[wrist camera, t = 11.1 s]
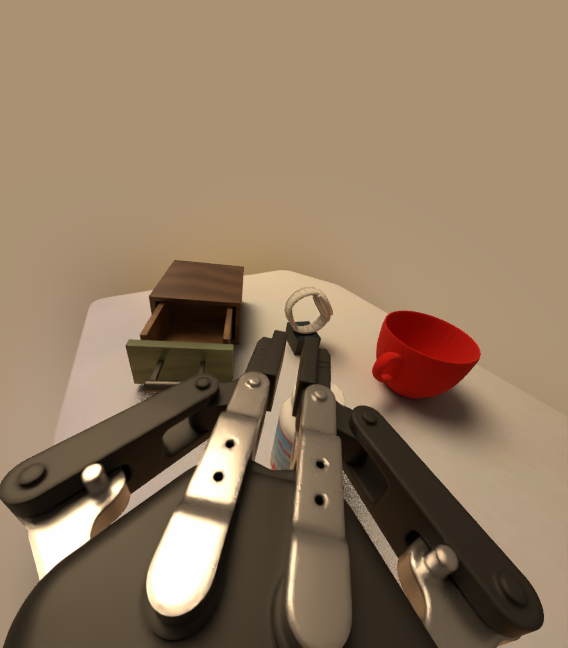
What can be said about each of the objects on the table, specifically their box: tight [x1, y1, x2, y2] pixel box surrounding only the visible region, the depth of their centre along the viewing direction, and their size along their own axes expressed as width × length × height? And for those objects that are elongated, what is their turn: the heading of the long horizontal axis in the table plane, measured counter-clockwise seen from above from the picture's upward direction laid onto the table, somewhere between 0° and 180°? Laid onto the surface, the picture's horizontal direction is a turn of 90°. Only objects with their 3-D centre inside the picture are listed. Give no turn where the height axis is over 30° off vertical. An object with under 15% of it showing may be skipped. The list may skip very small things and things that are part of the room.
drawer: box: [126, 302, 234, 393], centre depth 37 cm, size 19×12×6 cm, turn 6°
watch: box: [285, 287, 333, 355], centre depth 45 cm, size 6×8×11 cm
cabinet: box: [149, 260, 244, 344], centre depth 48 cm, size 16×14×8 cm
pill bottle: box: [271, 382, 345, 470], centre depth 26 cm, size 6×6×11 cm
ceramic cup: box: [372, 311, 481, 399], centre depth 39 cm, size 13×17×10 cm
